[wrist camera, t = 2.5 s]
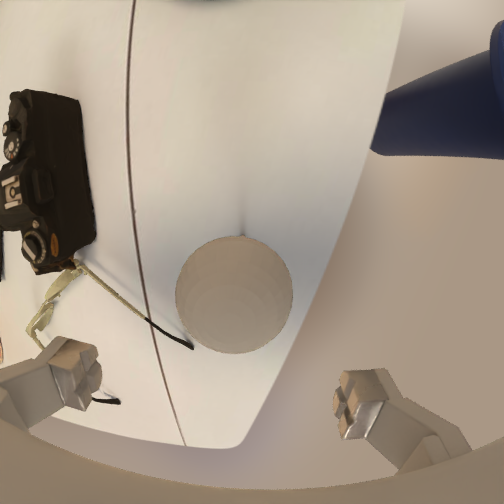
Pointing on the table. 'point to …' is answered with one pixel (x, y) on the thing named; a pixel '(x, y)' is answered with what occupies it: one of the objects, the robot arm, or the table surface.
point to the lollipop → (234, 294)
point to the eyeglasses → (56, 290)
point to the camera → (0, 256)
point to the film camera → (46, 180)
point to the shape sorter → (1, 353)
